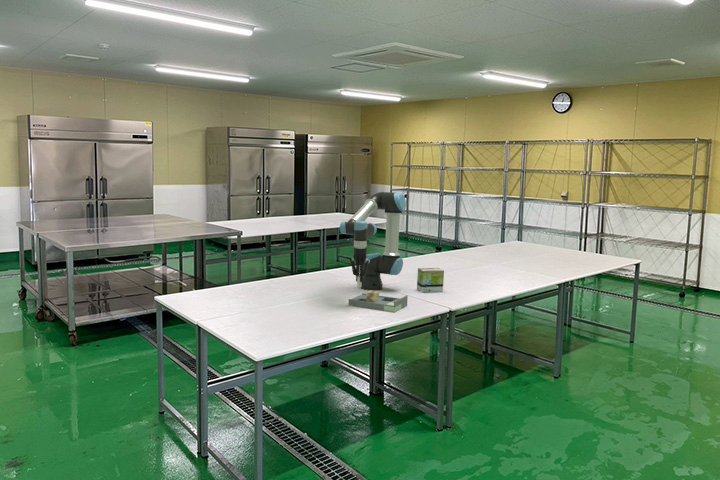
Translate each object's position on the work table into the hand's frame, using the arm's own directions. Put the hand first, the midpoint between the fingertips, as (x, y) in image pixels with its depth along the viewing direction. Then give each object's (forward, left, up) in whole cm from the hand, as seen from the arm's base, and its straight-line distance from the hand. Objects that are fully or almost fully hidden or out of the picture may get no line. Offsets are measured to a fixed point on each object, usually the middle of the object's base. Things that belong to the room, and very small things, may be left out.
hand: (359, 287), depth 330 cm
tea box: (+23, +57, -11) cm, 63 cm away
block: (+8, +2, -8) cm, 11 cm away
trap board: (+10, +4, -11) cm, 16 cm away
